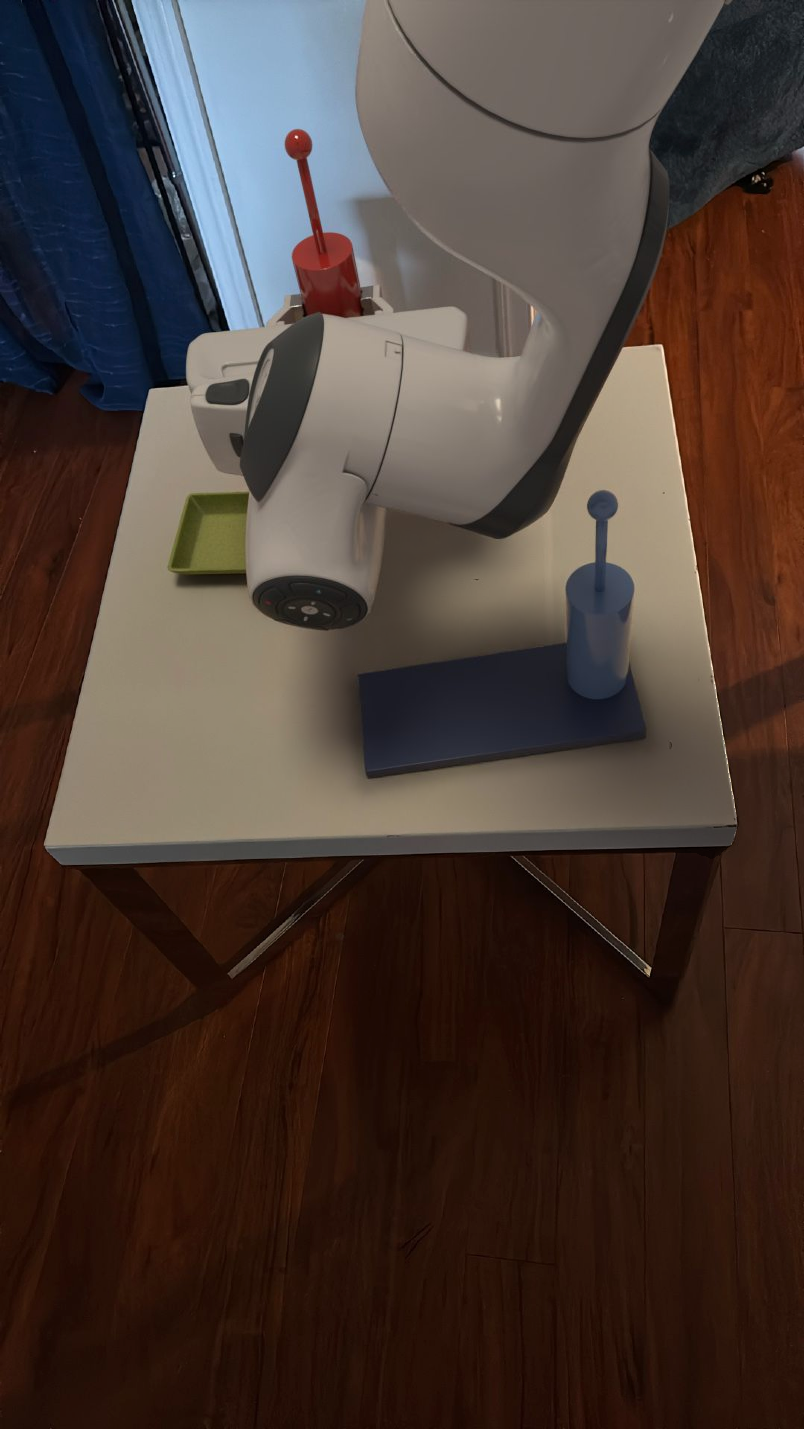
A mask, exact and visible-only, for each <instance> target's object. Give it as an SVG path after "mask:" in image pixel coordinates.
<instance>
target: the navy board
mask: <svg viewBox="0 0 804 1429" xmlns="http://www.w3.org/2000/svg"><path fill="white" fill-rule="evenodd" d="M357 683H358V696H359V708H360V709H359V711H360V722H361V723H360V724H361V734H362V748H363V759H364V760H363V761H364V772H365V775H366V778H367V779H372V778H378V777H384V776H385V777H386V776H392V775H399V774H406V773H415V772H420V771H427V770H433V769H440V768H447V767H454V766H460V765H461V766H462V765H469V764H475V763H481V762H488V761H494V760H495V761H496V760H502V759H509V758H516V757H517V758H518V757H524V756H529V755H536V754H543V753H550V752H557V751H565V750H571V749H577V748H585V747H592V746H598V745H606V744H612V743H619V742H626V741H633V740H641V739H645V738H646V737H647V726H646V723H645V719H644V718H645V717H644V715H643V711H642V706H641V703H640V699H639V695H638V691H637V686H636V683H635V679H634V675H633V671H632V667H631V663H630V662H629V667H628V678H627V682H626V684H625V686H624V687H623V688H622V689H621V691H619V692H618V693H617V694H615V695H614V696H611V697H609V698H605V699H589V698H586V697H583V696H581V695H579V694H578V693H576V692H575V691H574V690H573V689H572V688H571V687H570V685H569V683H568V681H567V676H566V641H565V642H559V643H551V644H547V645H540V646H532V647H527V648H520V649H519V648H518V649H514V650H509V651H508V650H507V651H500V652H494V653H486V654H482V655H475V656H468V657H461V658H455V659H447V660H441V661H435V662H427V663H422V664H416V665H409V666H403V667H402V666H401V667H396V668H390V669H388V668H387V669H381V670H375V671H369V672H364V673H363V672H362V673H358V674H357Z"/></svg>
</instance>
